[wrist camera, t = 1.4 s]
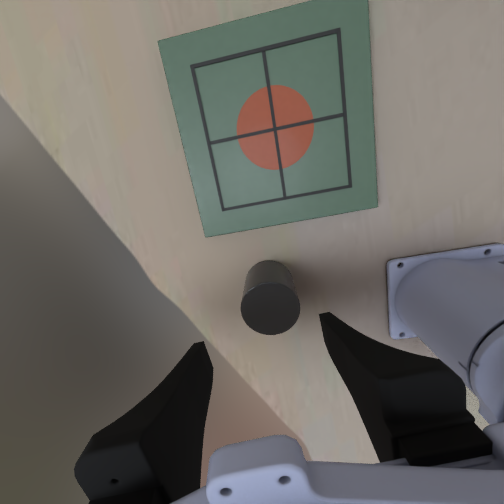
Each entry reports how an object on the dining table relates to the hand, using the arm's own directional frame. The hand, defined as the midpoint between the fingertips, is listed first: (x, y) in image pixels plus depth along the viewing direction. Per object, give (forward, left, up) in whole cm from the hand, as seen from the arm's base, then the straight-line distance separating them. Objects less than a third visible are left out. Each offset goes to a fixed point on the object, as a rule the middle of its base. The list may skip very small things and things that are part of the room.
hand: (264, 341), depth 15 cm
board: (-3, -13, -9) cm, 16 cm away
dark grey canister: (0, 0, -9) cm, 9 cm away
